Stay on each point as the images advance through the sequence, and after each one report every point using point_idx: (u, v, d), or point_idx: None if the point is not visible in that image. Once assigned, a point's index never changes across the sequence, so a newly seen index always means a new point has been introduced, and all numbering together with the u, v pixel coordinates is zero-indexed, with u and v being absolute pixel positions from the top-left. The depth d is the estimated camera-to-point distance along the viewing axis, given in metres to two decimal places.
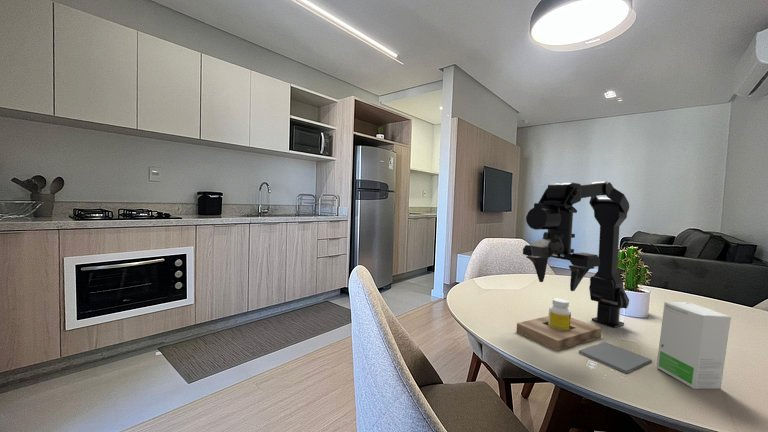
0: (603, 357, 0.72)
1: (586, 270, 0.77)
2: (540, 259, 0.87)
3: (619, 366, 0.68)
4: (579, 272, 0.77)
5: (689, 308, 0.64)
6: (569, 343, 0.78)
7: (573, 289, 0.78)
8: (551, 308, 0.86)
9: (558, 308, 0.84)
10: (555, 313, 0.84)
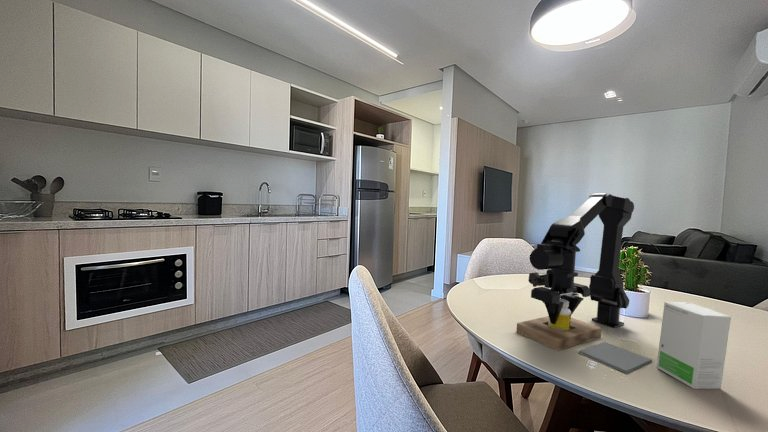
0: (603, 357, 0.72)
1: (557, 306, 0.81)
2: (566, 298, 0.87)
3: (619, 366, 0.68)
4: (553, 306, 0.83)
5: (689, 308, 0.64)
6: (569, 343, 0.78)
7: (551, 321, 0.84)
8: None
9: None
10: None
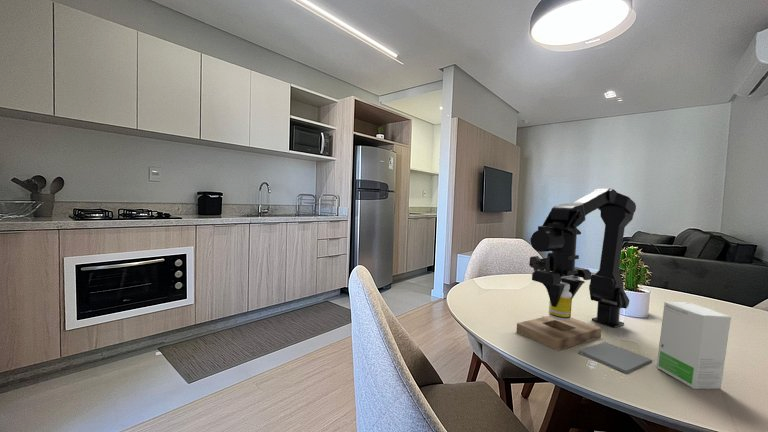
0: (603, 357, 0.72)
1: (558, 289, 0.81)
2: (567, 281, 0.87)
3: (619, 366, 0.68)
4: (554, 289, 0.83)
5: (689, 308, 0.64)
6: (569, 343, 0.78)
7: (552, 304, 0.84)
8: None
9: None
10: None
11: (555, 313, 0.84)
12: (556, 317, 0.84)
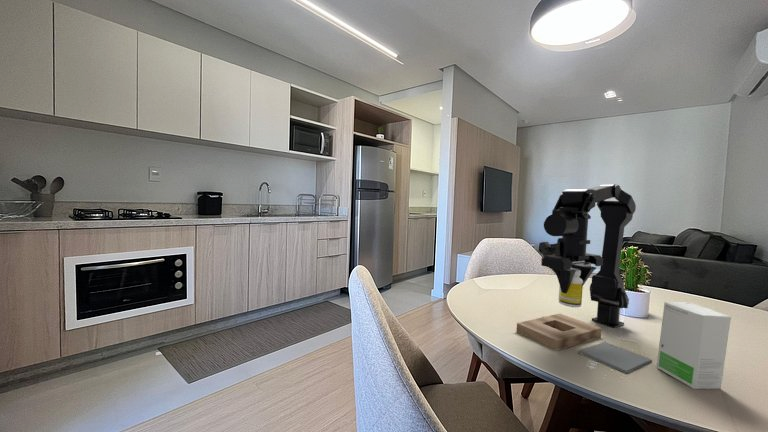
0: (603, 357, 0.72)
1: (568, 274, 0.79)
2: (578, 267, 0.84)
3: (619, 366, 0.68)
4: (564, 275, 0.81)
5: (689, 308, 0.64)
6: (569, 343, 0.78)
7: (563, 291, 0.82)
8: None
9: None
10: None
11: (565, 299, 0.81)
12: (566, 304, 0.81)
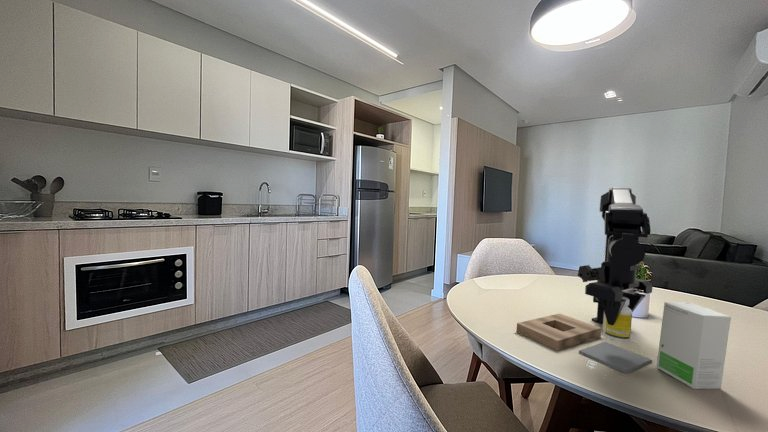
0: (603, 357, 0.72)
1: (618, 305, 0.69)
2: (624, 294, 0.75)
3: (619, 366, 0.68)
4: (611, 305, 0.71)
5: (689, 308, 0.64)
6: (569, 343, 0.78)
7: (609, 322, 0.72)
8: None
9: None
10: None
11: (612, 332, 0.72)
12: (613, 337, 0.72)
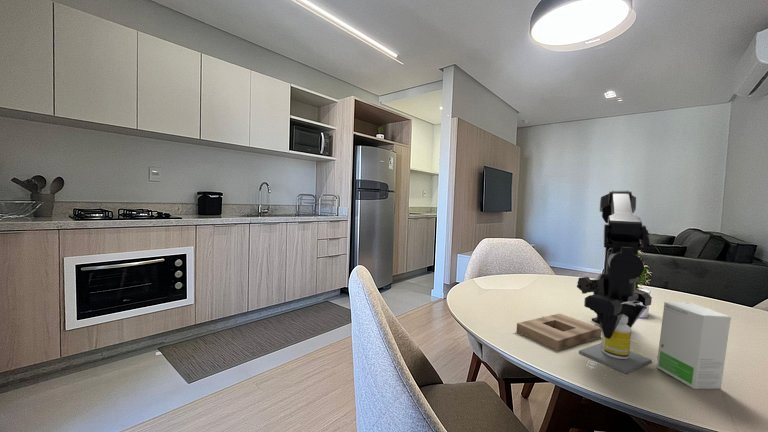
0: (603, 357, 0.72)
1: (614, 318, 0.69)
2: (626, 306, 0.75)
3: (619, 366, 0.68)
4: (608, 318, 0.70)
5: (689, 308, 0.64)
6: (569, 343, 0.78)
7: (606, 335, 0.71)
8: None
9: None
10: None
11: (611, 350, 0.72)
12: (612, 355, 0.72)
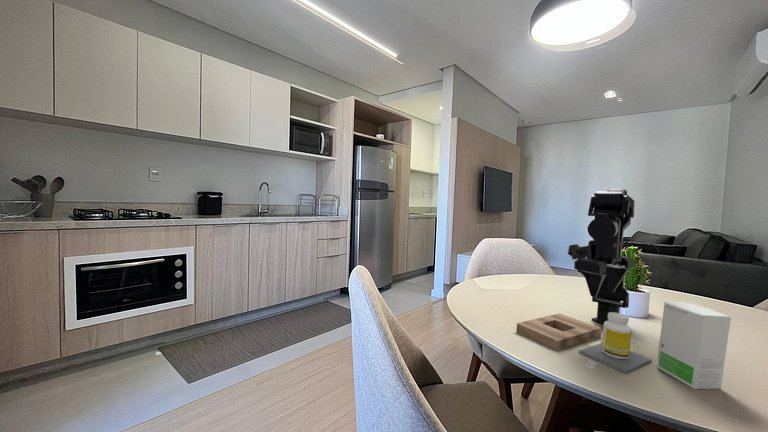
0: (603, 357, 0.72)
1: (599, 278, 0.77)
2: (612, 269, 0.85)
3: (619, 366, 0.68)
4: (593, 278, 0.79)
5: (689, 308, 0.64)
6: (569, 343, 0.78)
7: (592, 294, 0.80)
8: (607, 324, 0.73)
9: (616, 324, 0.72)
10: (613, 330, 0.72)
11: (611, 350, 0.72)
12: (612, 355, 0.72)
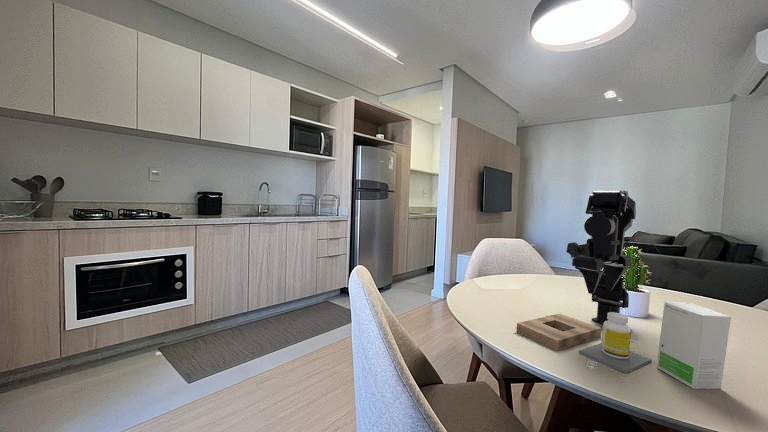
0: (603, 357, 0.72)
1: (596, 275, 0.79)
2: (610, 267, 0.86)
3: (619, 366, 0.68)
4: (591, 275, 0.80)
5: (689, 308, 0.64)
6: (569, 343, 0.78)
7: (589, 291, 0.82)
8: (606, 324, 0.73)
9: (616, 324, 0.72)
10: (613, 330, 0.72)
11: (611, 350, 0.72)
12: (612, 355, 0.72)
